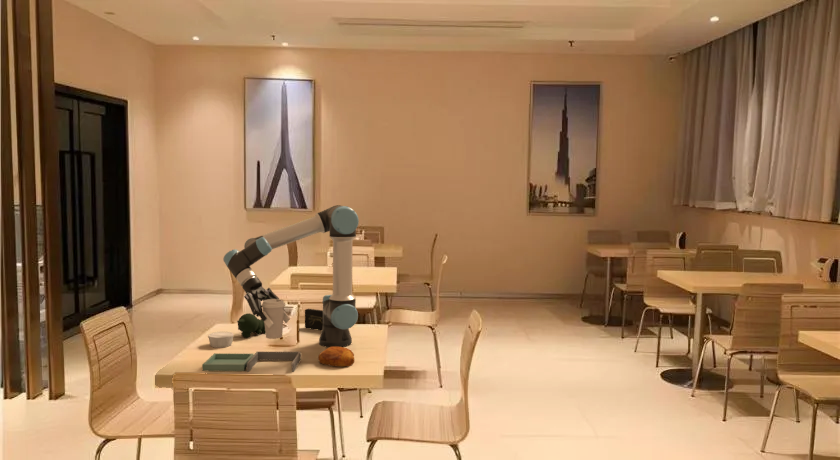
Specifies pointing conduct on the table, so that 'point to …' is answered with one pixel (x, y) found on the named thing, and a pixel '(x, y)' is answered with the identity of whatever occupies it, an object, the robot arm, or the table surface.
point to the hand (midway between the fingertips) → (279, 323)
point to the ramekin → (220, 339)
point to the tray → (227, 362)
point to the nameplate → (314, 319)
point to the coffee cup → (274, 317)
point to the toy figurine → (250, 325)
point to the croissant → (336, 357)
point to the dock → (275, 358)
